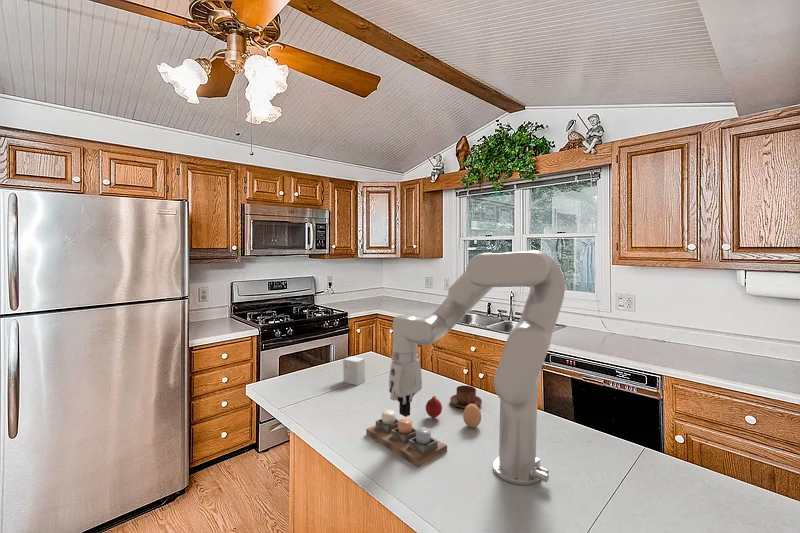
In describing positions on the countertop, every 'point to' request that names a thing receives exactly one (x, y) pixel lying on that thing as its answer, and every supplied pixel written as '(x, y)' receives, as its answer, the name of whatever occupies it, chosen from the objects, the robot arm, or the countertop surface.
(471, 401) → the cup and saucer
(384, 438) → the button board
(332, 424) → the countertop surface
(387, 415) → the cream button
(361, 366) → the small box
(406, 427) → the terracotta button
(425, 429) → the grey button
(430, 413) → the red fruit
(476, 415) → the egg
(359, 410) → the countertop surface
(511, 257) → the robot arm
